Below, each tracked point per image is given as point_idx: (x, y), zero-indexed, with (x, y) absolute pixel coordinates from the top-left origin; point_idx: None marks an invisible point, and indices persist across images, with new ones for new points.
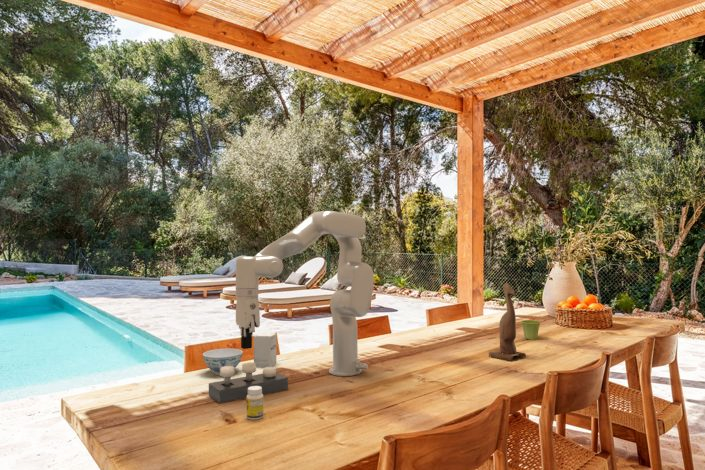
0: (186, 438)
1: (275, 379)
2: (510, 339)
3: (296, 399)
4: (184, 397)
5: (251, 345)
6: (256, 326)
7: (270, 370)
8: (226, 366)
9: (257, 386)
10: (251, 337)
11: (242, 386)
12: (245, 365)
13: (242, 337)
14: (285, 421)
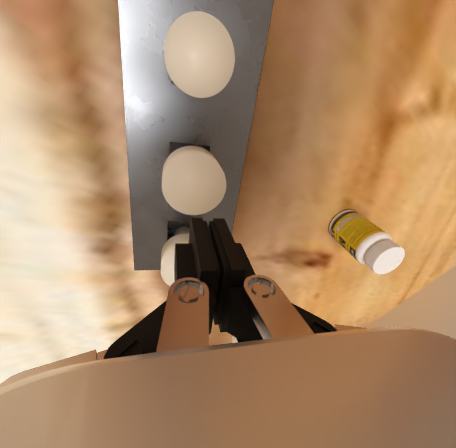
0: None
1: (253, 71)
2: None
3: (353, 74)
4: (117, 291)
5: (226, 227)
6: (371, 338)
7: (231, 75)
8: (166, 267)
9: (388, 253)
10: (243, 265)
11: (235, 209)
12: (204, 207)
13: (222, 327)
14: (407, 191)
